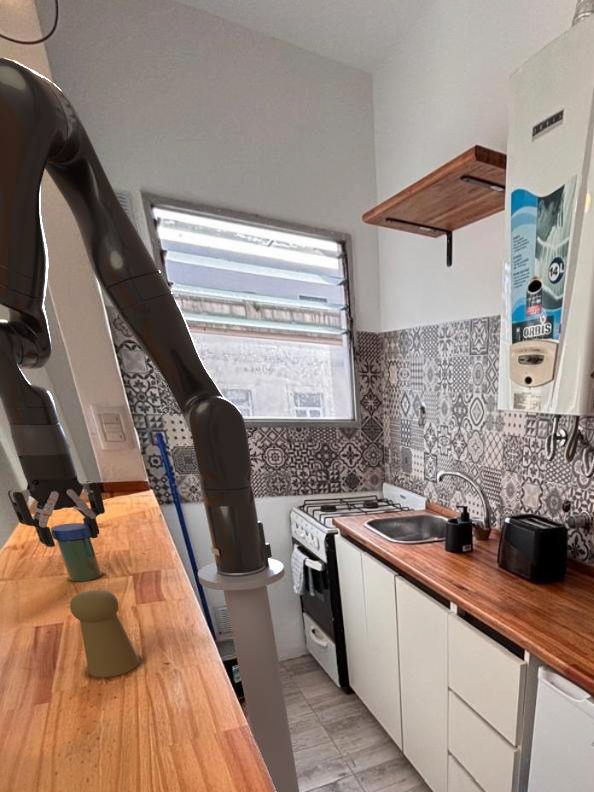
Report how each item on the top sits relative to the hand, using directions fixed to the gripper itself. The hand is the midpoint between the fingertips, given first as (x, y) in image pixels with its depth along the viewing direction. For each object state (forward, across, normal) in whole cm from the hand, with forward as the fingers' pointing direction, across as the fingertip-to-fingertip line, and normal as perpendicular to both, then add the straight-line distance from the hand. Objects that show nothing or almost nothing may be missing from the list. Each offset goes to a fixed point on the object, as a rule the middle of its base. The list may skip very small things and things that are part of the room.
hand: (72, 541), depth 99 cm
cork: (+7, +17, +40) cm, 44 cm away
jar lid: (-2, 0, 0) cm, 2 cm away
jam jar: (+7, 0, 0) cm, 7 cm away
